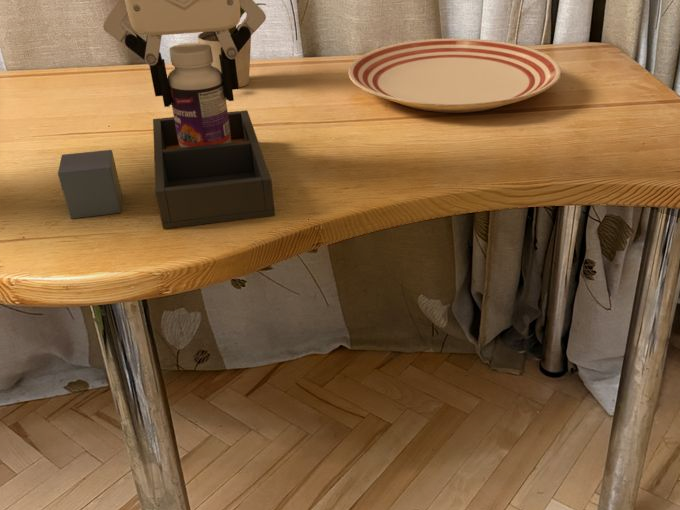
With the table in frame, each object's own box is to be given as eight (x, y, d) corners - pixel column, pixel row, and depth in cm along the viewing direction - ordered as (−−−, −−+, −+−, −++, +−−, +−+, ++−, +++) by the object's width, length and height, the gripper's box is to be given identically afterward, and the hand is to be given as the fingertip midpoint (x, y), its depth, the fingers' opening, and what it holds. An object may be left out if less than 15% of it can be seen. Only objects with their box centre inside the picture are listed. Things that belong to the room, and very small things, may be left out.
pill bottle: (169, 145, 77) (150, 48, 72) (211, 131, 81) (196, 37, 75) (199, 158, 74) (182, 58, 69) (242, 144, 78) (229, 46, 72)
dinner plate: (509, 141, 83) (512, 112, 81) (308, 103, 94) (306, 77, 92) (585, 77, 102) (589, 52, 100) (411, 52, 113) (411, 29, 111)
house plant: (208, 62, 110) (190, -63, 100) (296, 69, 106) (285, -60, 97) (159, 91, 99) (133, -46, 89) (255, 99, 95) (239, -42, 86)
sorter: (163, 229, 66) (155, 192, 64) (159, 151, 82) (152, 118, 79) (275, 215, 68) (271, 179, 66) (251, 141, 84) (247, 110, 81)
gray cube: (70, 219, 68) (57, 172, 66) (74, 198, 72) (61, 154, 69) (121, 213, 69) (110, 167, 66) (122, 193, 73) (111, 149, 70)
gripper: (56, -104, 59) (108, 120, 70) (270, -111, 63) (288, 103, 73) (63, -112, 65) (111, 96, 76) (259, -118, 69) (278, 81, 79)
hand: (198, 97), depth 75 cm, fingers closed on pill bottle, 5 cm apart
